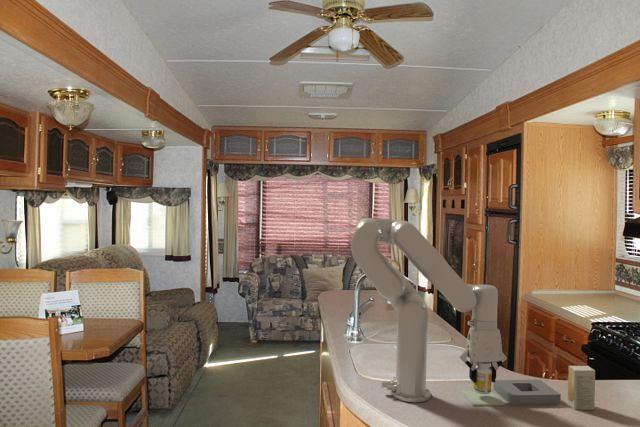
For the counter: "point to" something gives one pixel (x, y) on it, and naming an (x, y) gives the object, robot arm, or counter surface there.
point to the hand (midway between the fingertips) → (482, 380)
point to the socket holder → (526, 392)
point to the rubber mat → (482, 398)
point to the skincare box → (581, 387)
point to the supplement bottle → (483, 378)
